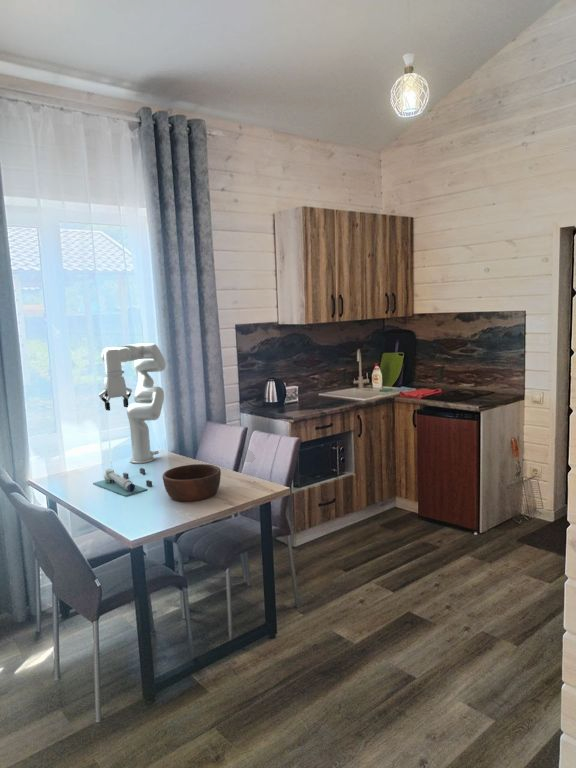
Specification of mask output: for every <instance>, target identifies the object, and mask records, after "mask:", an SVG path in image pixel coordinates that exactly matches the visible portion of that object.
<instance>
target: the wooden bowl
mask: <svg viewBox="0 0 576 768" xmlns="http://www.w3.org/2000/svg"><path fill="white" fill-rule="evenodd" d="M221 474H222V471H221V468H220V467H218V466H216V465H213V464H205V463H204V464H203V463H202V464H201V463H197V464H185V465H180V466H177V467H172V468H170V469H168V470H166V471H165V472H164V473H163V474H162V481H163V485H164V489H165V491H166V493H167V494H168V497H170V498H171V499H172V500H174V501H178V502H184V503H185V502H198V501H203V500H207V499H209V498H211V497H213V496H214V495H216V493H217V492H218V490H219V487H220V484H221Z"/></svg>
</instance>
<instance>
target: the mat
mask: <svg viewBox="0 0 576 768" xmlns="http://www.w3.org/2000/svg"><path fill="white" fill-rule="evenodd" d="M92 485H94V486H97V487H99V488H101V489H104V490H107V491H110V492H112V493H115V494H117V495H121V496H122V497H124V498H126V497H129V496H132V495H137V494H139V493H142V492H143V493H144V492H146V491H148V488H146V487H143V486H140V485H137V484H134V485H135V489H134V491H132V492H129V491H128V490H125V489H124V488H123V487H122V486H121V485H120V484H118V483H117V482H116V481H115V482H114V483H108V482H107V483H106V482H105V479H102V480H99V481H96V482H95V481H94V482H92Z"/></svg>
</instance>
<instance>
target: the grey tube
mask: <svg viewBox="0 0 576 768" xmlns="http://www.w3.org/2000/svg"><path fill="white" fill-rule="evenodd" d="M103 478H104V480H105V482H106V483H107V482H108V483H114V482H115V481H116V482H117V483H118V484H120V485H121V486H122V487H123V488H124V489H125V490H128V491H129V492H132V491H134V489H135V485H136V484H135V483H133V481H132V480H129V479H125V478H123V476H121V475H120V474H118V473H116V472H115V471H114V469H113V468H107V469H106V470H105V474H104V475H103Z"/></svg>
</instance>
